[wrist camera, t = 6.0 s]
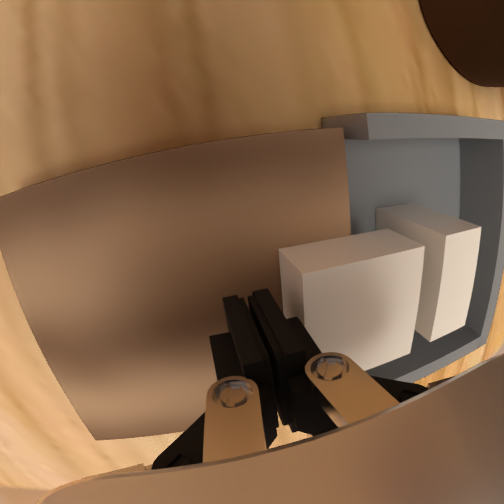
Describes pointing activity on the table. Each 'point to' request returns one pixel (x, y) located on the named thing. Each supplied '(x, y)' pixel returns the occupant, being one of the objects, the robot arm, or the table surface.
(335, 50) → the table surface
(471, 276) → the tile
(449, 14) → the olive oil
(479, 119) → the box
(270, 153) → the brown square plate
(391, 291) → the tile
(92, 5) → the table surface
